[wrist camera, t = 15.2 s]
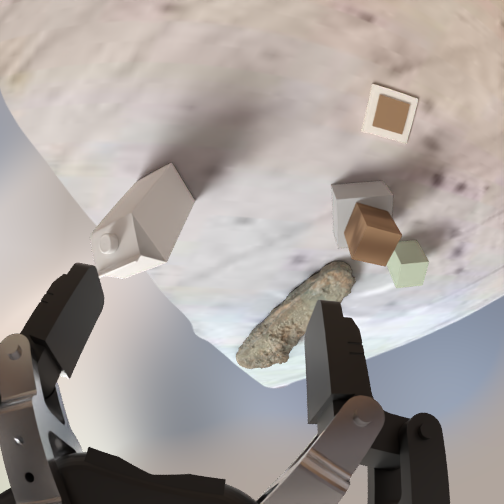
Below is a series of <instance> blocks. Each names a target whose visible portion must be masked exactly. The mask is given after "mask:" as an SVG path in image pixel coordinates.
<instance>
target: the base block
mask: <svg viewBox="0 0 504 504" xmlns="http://www.w3.org/2000/svg"><path fill="white" fill-rule="evenodd" d="M331 195H332V215H333V233H334V236H335V240H336V243H337V247H338V249H343V248H348V245H347V242H346V239H345V235H344V231H345V228H346V226H347V224H348V221H349V219H350V216H351V214H352V211H353V209H354V206H355V204H356V202H358V203H361V204H365V205H368V206H372V207H375V208H379V209H382V210H386V211H388V212H389V214H390V215H391V217H392V209H393V194H392V192H391V191H390V190H389V188H388V187H387V186H386V184H385V183H384V182H383V181H371V182H358V183H346V184H335V185H331Z"/></svg>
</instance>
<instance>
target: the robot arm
mask: <svg viewBox="0 0 504 504" xmlns="http://www.w3.org/2000/svg"><path fill="white" fill-rule="evenodd" d="M103 305H104V294H103V290H102V287H101V283H100V279H99V275H98V272H97V268H96V267H95V266H93V265H88V264H82V263H75V264H74V265H73V267H72V268H71V269H70V271H69V272H68V274H63V275H62V276H60V277H59V278H58V279H57V280H56V281H54V282H53V283H52V285H51V286H50V288H49V289H48V291H47V293H46V294H45V295H44V296H43V298H42V300H41V302H40V303H39V304H38V306H37V307H36V309H35V310H34V312H33V313H32V315H31V317H30V318H29V320H28V321H27V323H26V325H25V326H24V328H23V330H22V331H21V333H20V334H12V335H9V336H7V337H6V338H5V339H4V340H3V341H2V342H1V343H0V447H1V451H2V455H3V460H4V464H5V468H6V471H7V475H8V479H9V482H10V486H11V488H10V489H8V490H6V491H4V492H3V493H1V494H0V504H338V502H339V501H340V500H341V498H342V497H343V496H344V494H345V493H346V491H347V490H348V488H349V485H350V481H349V480H350V478H351V476H352V474H353V473H354V471H355V470H356V468H357V467H358V466H359V464H361V465H365V466H368V504H450V496H449V482H448V471H447V462H446V454H445V447H444V440H443V433H442V428H441V425H440V423H439V421H438V420H437V419H436V418H435V417H434V416H432V415H431V414H428V413H419V414H416V415H414V416H413V417H412V418H411V419H409V418H405V417H401V416H398V415H394V414H390V413H388V412H386V411H384V410H383V409H382V407H381V405H380V404H379V403H378V402H377V401H376V400H374V399H373V396H372V392H371V387H370V381H369V376H368V370H367V365H366V359H365V356H364V349H363V345H362V339H361V335H360V330H359V328H358V327H357V325H356V324H355V322H354V321H353V319H352V318H347V317H343V313H342V308H341V304H340V302H337V301H327V300H318V301H317V302H316V305H315V307H314V310H313V313H312V315H311V318H310V320H309V323H308V325H307V328H306V333H305V360H306V381H307V406H308V424H318V434H317V435H316V436H315V437H314V438H313V440H312V441H311V442H310V443H309V444H308V446H307V447H306V448H305V449H304V450H303V452H302V453H301V454H300V455H299V456H298V458H296V460H295V461H294V462H293V463H292V464H291V465H290V466H289V467H288V469H287V470H286V471H285V472H284V473H283V474H282V475H281V476H280V477H279V478H278V479H277V480H276V481H275V482H274V483H273V484H272V485H271V486H270V487H269V488H268V489H267V490H266V491H265V492H264V493H263V494H262V495H261V496H260V497H259V498H258V499H257V500H256V501H255V500H254V499H252V498H251V497H250V496H248V495H247V494H245V493H244V492H242V491H240V490H239V489H236V488H234V487H232V486H229V485H227V484H225V479H218V478H211V477H204V476H197V475H192V474H181V475H152V474H149V473H147V472H145V471H143V470H141V469H139V468H137V467H136V466H134V465H132V464H130V463H128V462H127V461H125V460H123V459H121V458H120V457H117V456H114V455H110V454H108V453H105V452H102V451H99V450H96V449H93V448H90V447H89V448H88V451H87V452H83V451H82V449H81V446H80V444H79V442H78V440H77V438H76V436H75V435H74V433H73V432H72V430H71V427H70V425H69V422H68V419H67V415H66V412H65V408H64V404H63V401H62V397H61V393H60V389H59V385H58V383H57V380H58V378H59V376H62V377H65V378H68V379H70V377H71V375H72V373H73V370H74V368H75V366H76V364H77V361H78V359H79V357H80V354H81V353H82V350H83V348H84V346H85V344H86V342H87V340H88V338H89V336H90V334H91V332H92V329H93V327H94V325H95V323H96V321H97V319H98V317H99V315H100V313H101V312H102V309H103Z"/></svg>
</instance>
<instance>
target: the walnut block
mask: <svg viewBox="0 0 504 504" xmlns="http://www.w3.org/2000/svg"><path fill="white" fill-rule="evenodd" d="M344 235H345V239H346V242H347V245H348V248H349V251H350V254H351V258H352V259H353V260H358V261H363V262H367V263H372V264H377V265H381V266H386V265H387V263H388V261H389V259H390V257H391V256H392V254H393V252H394V250H395V248H396V246H397V244H398V242H399V240H400V238H401V237H402V234H401V232H400V231H399V229H398V227H397V225H396V224H395V222H394V220H393V219H392V217H391V215H390V214H389V212H388V211H386V210H382V209H379V208H375V207H372V206H368V205H365V204H361V203H358V202H356V204H355V206H354V209H353V211H352V214H351V216H350V219H349V221H348V224H347V226H346V228H345V231H344Z"/></svg>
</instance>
